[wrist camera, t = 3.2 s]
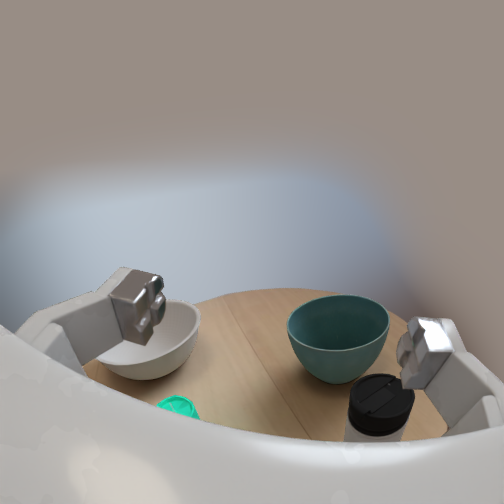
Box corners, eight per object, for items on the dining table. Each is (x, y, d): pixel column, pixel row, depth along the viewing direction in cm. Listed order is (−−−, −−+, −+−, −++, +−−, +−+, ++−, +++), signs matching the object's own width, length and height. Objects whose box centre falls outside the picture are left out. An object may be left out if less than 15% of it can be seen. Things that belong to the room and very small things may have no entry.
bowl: (121, 337, 72) (110, 307, 70) (211, 325, 74) (203, 292, 71) (91, 401, 46) (70, 367, 44) (210, 396, 48) (197, 357, 45)
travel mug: (325, 479, 27) (332, 391, 22) (362, 454, 30) (383, 357, 24) (352, 506, 22) (380, 431, 16) (389, 478, 24) (430, 386, 18)
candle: (178, 436, 39) (152, 390, 35) (212, 433, 39) (191, 386, 36) (177, 463, 33) (147, 420, 29) (214, 461, 33) (190, 416, 30)
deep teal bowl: (280, 357, 57) (274, 308, 53) (355, 333, 60) (356, 285, 56) (311, 417, 40) (309, 365, 36) (400, 378, 42) (410, 325, 39)
